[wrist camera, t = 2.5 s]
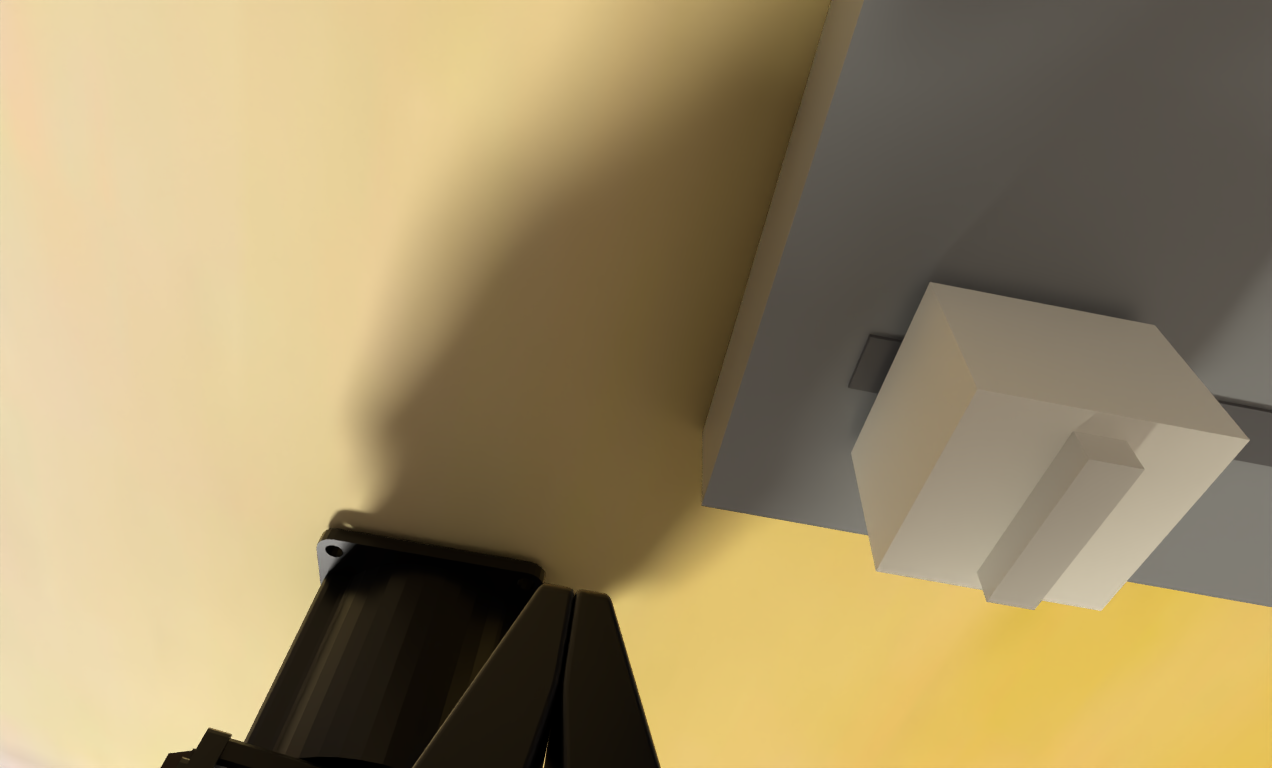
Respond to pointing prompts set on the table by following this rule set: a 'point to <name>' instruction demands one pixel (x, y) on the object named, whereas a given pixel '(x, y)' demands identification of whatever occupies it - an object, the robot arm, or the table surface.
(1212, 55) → the switch panel
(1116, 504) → the tab
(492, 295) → the table surface
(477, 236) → the table surface
